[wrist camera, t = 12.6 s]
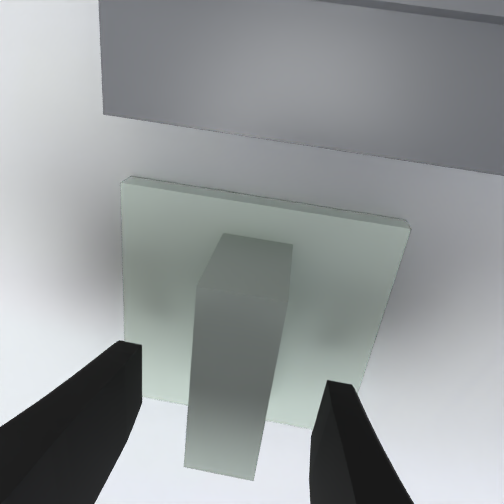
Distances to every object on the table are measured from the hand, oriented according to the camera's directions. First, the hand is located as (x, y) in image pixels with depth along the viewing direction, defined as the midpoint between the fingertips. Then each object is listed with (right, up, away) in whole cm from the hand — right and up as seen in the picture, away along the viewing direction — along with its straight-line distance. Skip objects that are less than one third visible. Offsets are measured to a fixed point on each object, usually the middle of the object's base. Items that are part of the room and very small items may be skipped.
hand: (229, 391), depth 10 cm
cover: (0, +2, +3) cm, 4 cm away
